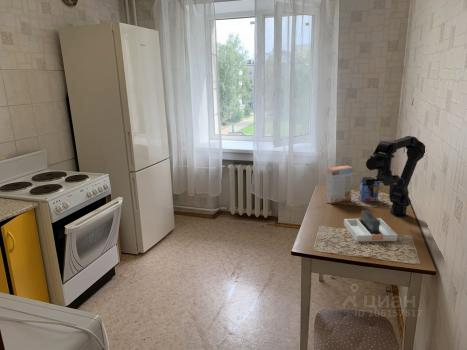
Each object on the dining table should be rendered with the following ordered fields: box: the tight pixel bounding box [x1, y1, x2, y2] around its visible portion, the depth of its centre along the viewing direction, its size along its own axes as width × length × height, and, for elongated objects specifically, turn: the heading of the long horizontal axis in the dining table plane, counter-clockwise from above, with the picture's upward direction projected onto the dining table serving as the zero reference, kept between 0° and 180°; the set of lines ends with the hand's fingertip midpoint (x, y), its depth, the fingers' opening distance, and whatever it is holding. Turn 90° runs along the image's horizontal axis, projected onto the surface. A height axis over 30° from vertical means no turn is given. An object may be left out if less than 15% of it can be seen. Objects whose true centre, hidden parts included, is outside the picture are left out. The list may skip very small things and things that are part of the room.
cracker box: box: [325, 164, 354, 205], centre depth 201 cm, size 14×6×21 cm, turn 108°
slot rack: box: [343, 217, 399, 243], centre depth 162 cm, size 18×19×3 cm
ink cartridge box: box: [358, 177, 380, 203], centre depth 202 cm, size 10×6×14 cm, turn 88°
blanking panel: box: [360, 209, 380, 234], centre depth 161 cm, size 3×14×8 cm, turn 0°
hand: (381, 197), depth 171 cm, fingers open, 9 cm apart
